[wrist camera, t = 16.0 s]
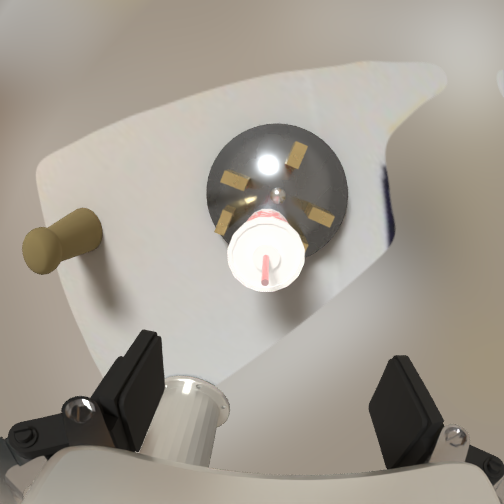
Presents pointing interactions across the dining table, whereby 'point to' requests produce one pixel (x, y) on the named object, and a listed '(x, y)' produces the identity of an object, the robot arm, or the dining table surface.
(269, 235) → the beverage cup
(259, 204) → the gold studded metal disc
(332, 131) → the dining table surface
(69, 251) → the cork
